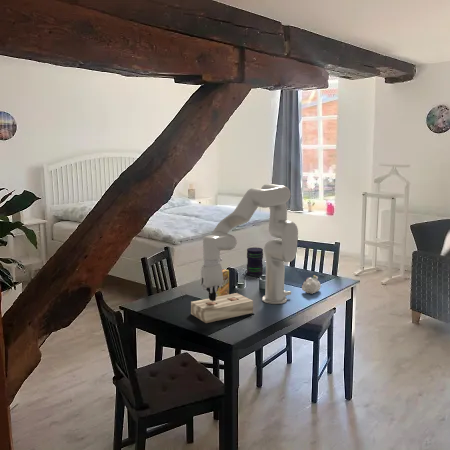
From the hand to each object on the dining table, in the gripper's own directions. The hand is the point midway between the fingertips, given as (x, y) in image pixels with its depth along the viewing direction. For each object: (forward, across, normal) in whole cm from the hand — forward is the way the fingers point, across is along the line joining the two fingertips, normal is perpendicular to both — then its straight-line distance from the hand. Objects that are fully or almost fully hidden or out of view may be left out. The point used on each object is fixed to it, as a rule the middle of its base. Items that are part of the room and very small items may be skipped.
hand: (212, 300), depth 242 cm
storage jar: (+9, -60, -50) cm, 79 cm away
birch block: (+8, -5, 0) cm, 9 cm away
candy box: (+8, -15, -17) cm, 24 cm away
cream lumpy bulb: (+9, -63, -2) cm, 64 cm away
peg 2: (+8, -11, 0) cm, 14 cm away
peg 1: (+8, +1, 0) cm, 8 cm away
